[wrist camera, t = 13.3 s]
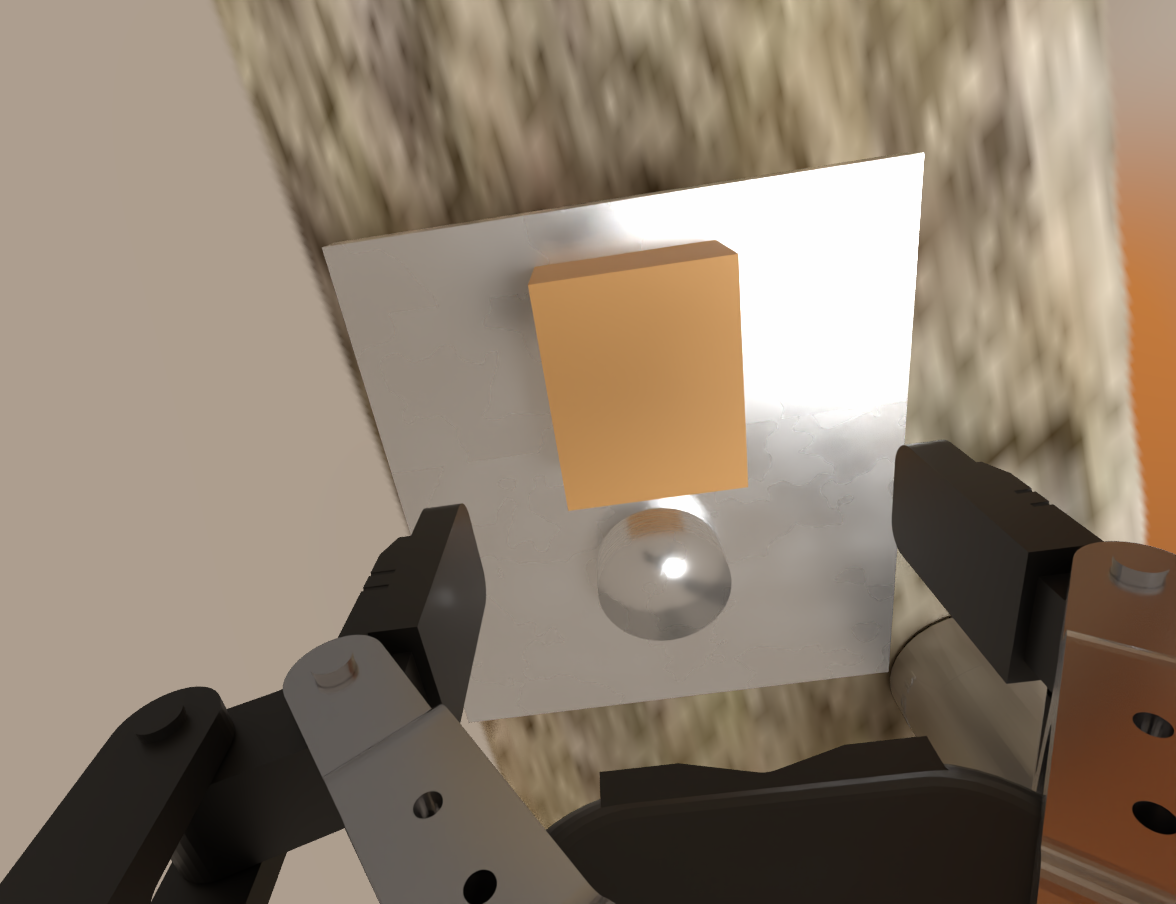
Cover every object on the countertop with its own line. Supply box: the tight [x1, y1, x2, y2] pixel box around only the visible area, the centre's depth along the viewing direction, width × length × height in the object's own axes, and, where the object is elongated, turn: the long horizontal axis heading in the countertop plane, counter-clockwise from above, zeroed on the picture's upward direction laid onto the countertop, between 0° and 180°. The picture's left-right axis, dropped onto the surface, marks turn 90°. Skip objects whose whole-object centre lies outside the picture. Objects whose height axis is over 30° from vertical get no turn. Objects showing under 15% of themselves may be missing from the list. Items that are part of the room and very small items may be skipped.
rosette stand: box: [322, 153, 924, 723], centre depth 28 cm, size 18×20×13 cm
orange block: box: [528, 240, 748, 511], centre depth 24 cm, size 6×7×12 cm
